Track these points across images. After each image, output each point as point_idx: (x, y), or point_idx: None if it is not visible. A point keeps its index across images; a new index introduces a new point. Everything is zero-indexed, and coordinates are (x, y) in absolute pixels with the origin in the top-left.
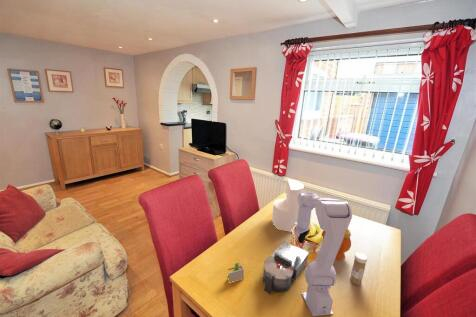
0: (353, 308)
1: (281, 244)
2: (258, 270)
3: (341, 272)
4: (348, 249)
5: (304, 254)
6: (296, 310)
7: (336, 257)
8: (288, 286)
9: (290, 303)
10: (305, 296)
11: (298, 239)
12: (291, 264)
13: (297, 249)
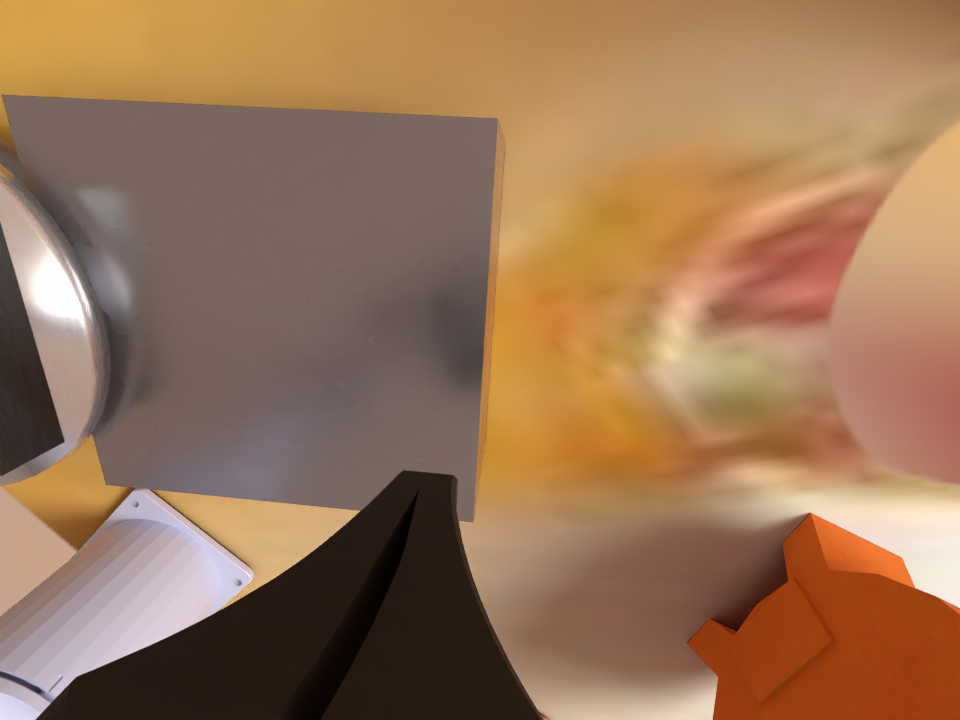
0: None
1: (377, 121)
2: (12, 40)
3: (553, 664)
4: None
5: None
6: (14, 486)
7: (709, 644)
8: None
9: None
10: (129, 516)
11: (370, 510)
12: (44, 446)
13: (438, 392)
